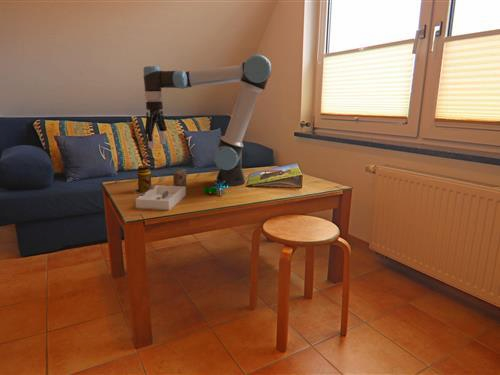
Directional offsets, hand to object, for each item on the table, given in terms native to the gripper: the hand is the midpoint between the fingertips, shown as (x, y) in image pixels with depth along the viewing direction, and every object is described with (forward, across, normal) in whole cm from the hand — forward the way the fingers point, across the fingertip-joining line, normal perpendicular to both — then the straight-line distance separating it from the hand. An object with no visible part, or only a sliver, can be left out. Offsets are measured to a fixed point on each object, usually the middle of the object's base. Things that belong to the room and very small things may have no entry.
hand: (157, 146), depth 168 cm
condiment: (+21, +9, -5) cm, 23 cm away
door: (+21, +2, +11) cm, 23 cm away
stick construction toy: (+22, +8, +30) cm, 38 cm away
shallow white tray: (+21, +23, +10) cm, 32 cm away
